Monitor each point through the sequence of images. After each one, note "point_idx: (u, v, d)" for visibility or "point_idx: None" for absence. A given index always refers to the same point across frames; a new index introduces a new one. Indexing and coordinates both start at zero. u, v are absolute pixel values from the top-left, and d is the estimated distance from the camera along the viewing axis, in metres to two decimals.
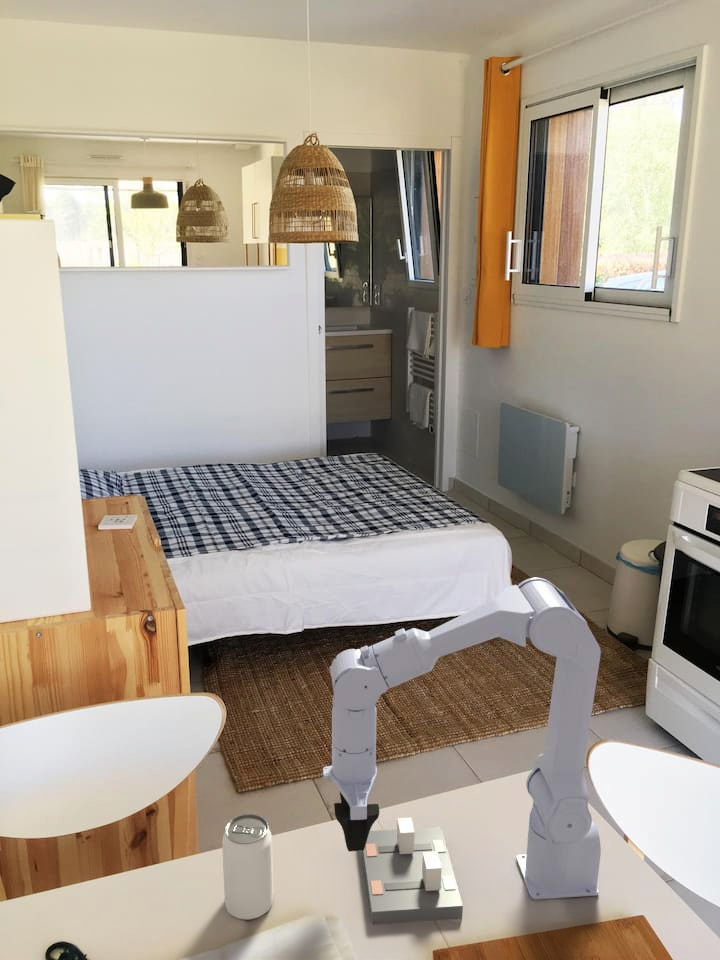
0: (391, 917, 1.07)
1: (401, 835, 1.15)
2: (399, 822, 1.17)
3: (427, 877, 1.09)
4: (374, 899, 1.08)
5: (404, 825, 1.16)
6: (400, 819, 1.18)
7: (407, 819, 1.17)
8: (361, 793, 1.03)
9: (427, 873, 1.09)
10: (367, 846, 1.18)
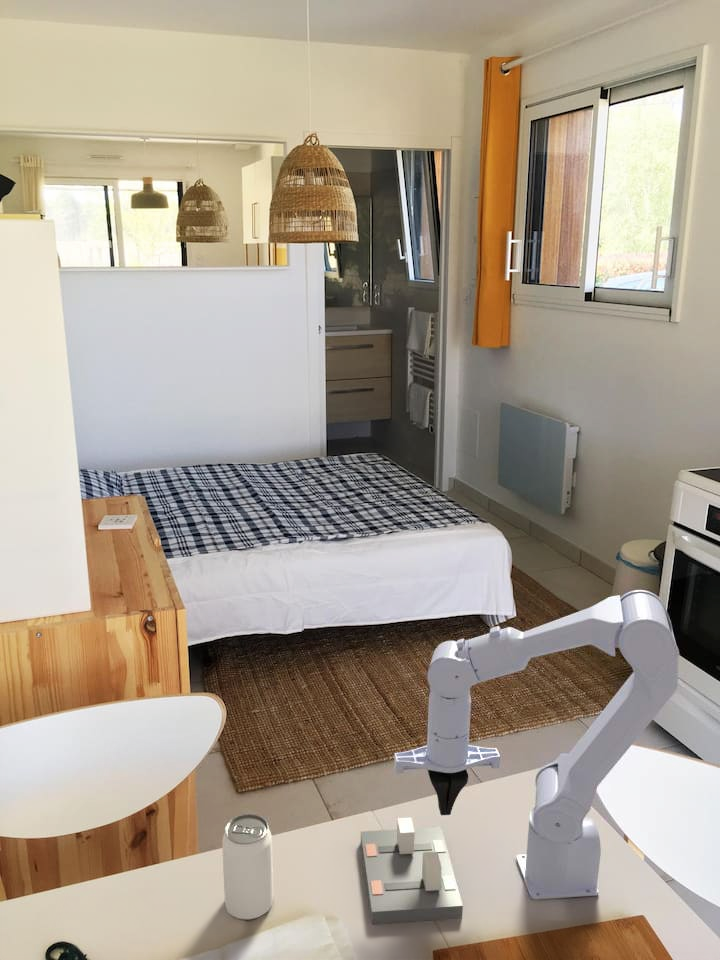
0: (391, 917, 1.07)
1: (401, 835, 1.15)
2: (399, 822, 1.17)
3: (427, 877, 1.09)
4: (374, 899, 1.08)
5: (404, 825, 1.16)
6: (400, 819, 1.18)
7: (407, 819, 1.17)
8: (414, 759, 1.13)
9: (427, 873, 1.09)
10: (367, 846, 1.18)
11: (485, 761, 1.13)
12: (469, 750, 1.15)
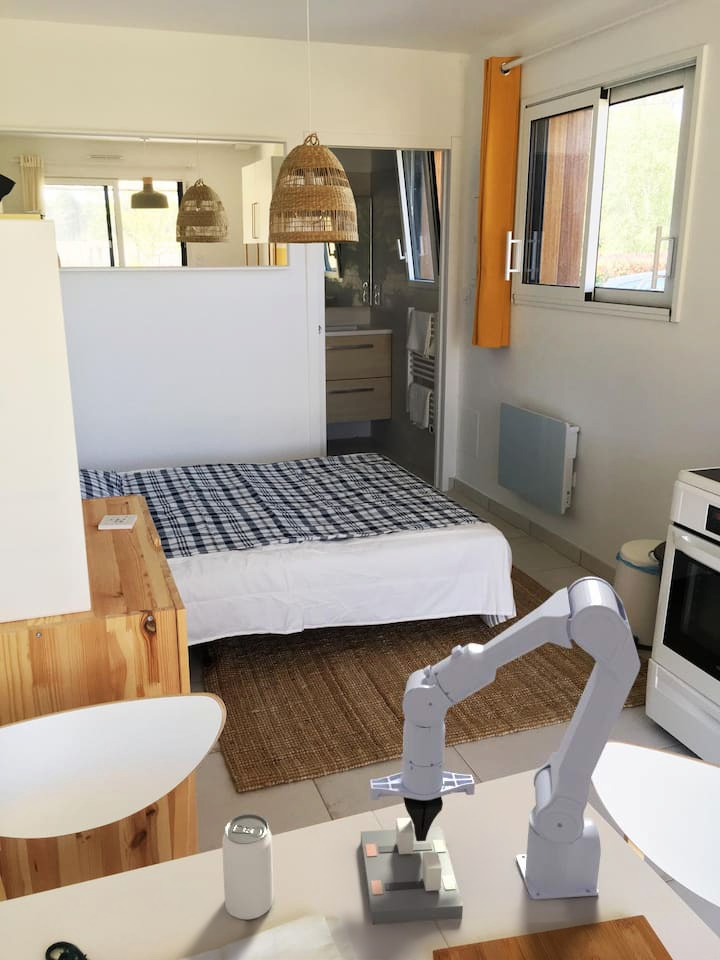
0: (391, 917, 1.07)
1: (400, 835, 1.15)
2: (398, 822, 1.17)
3: (427, 877, 1.09)
4: (374, 899, 1.08)
5: (403, 825, 1.16)
6: (399, 819, 1.17)
7: (407, 819, 1.17)
8: (389, 786, 1.14)
9: (427, 873, 1.09)
10: (367, 846, 1.18)
11: (460, 788, 1.14)
12: (444, 776, 1.16)
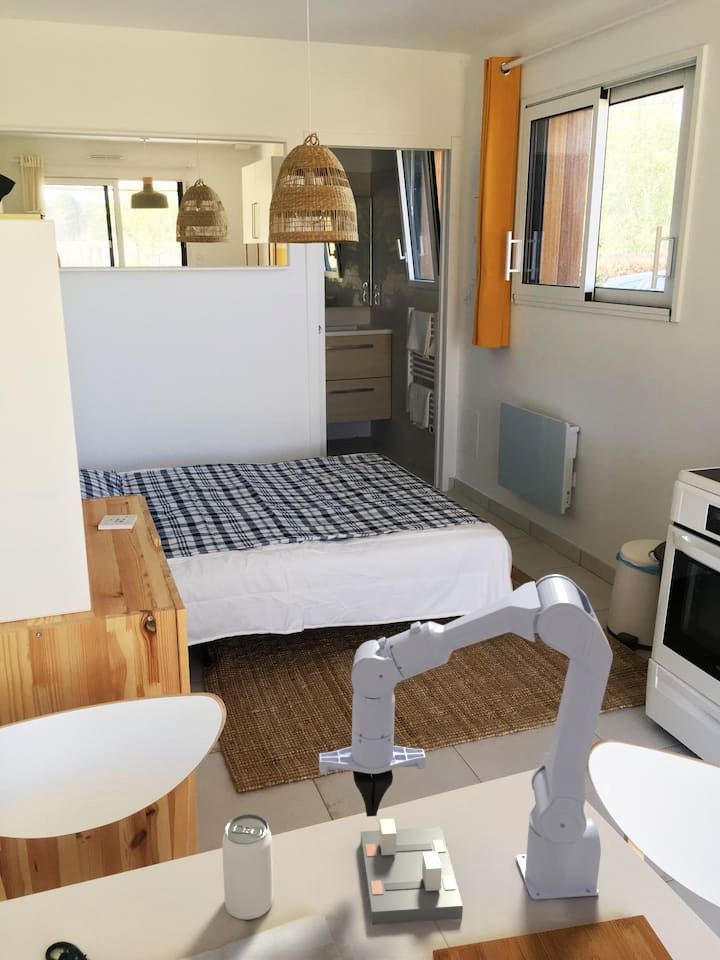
0: (391, 917, 1.07)
1: (383, 836, 1.15)
2: (381, 823, 1.17)
3: (427, 877, 1.09)
4: (374, 899, 1.08)
5: (386, 826, 1.16)
6: (382, 820, 1.17)
7: (390, 820, 1.17)
8: (338, 759, 1.12)
9: (427, 873, 1.09)
10: (367, 846, 1.18)
11: (410, 762, 1.12)
12: (396, 751, 1.14)
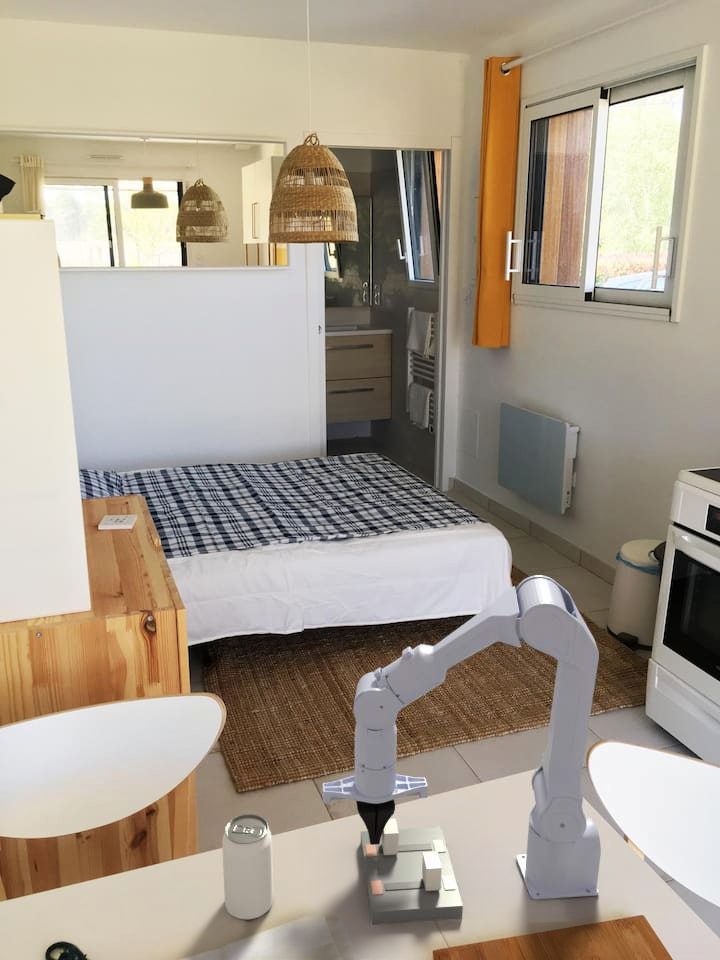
0: (391, 917, 1.07)
1: (385, 836, 1.15)
2: None
3: (427, 877, 1.09)
4: (374, 899, 1.08)
5: (388, 826, 1.16)
6: None
7: (392, 820, 1.17)
8: (341, 789, 1.13)
9: (427, 873, 1.09)
10: (367, 846, 1.18)
11: (412, 791, 1.13)
12: (398, 779, 1.16)
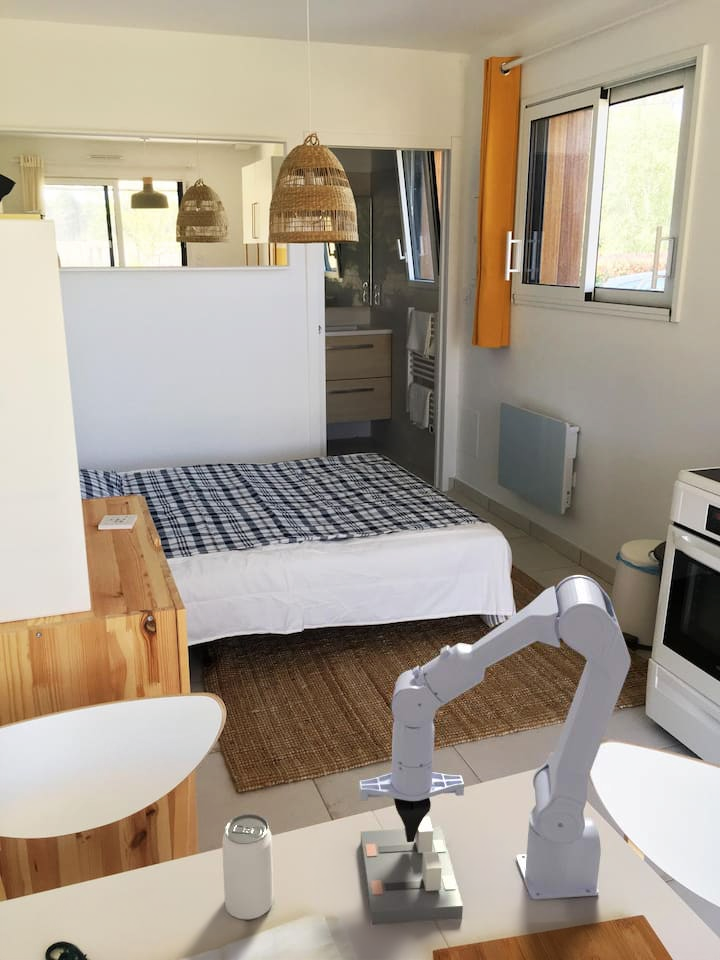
0: (391, 917, 1.07)
1: (420, 834, 1.15)
2: None
3: (427, 877, 1.09)
4: (374, 899, 1.08)
5: (422, 824, 1.17)
6: None
7: (425, 818, 1.18)
8: (378, 787, 1.13)
9: (427, 873, 1.09)
10: (367, 846, 1.18)
11: (449, 789, 1.14)
12: (434, 777, 1.16)
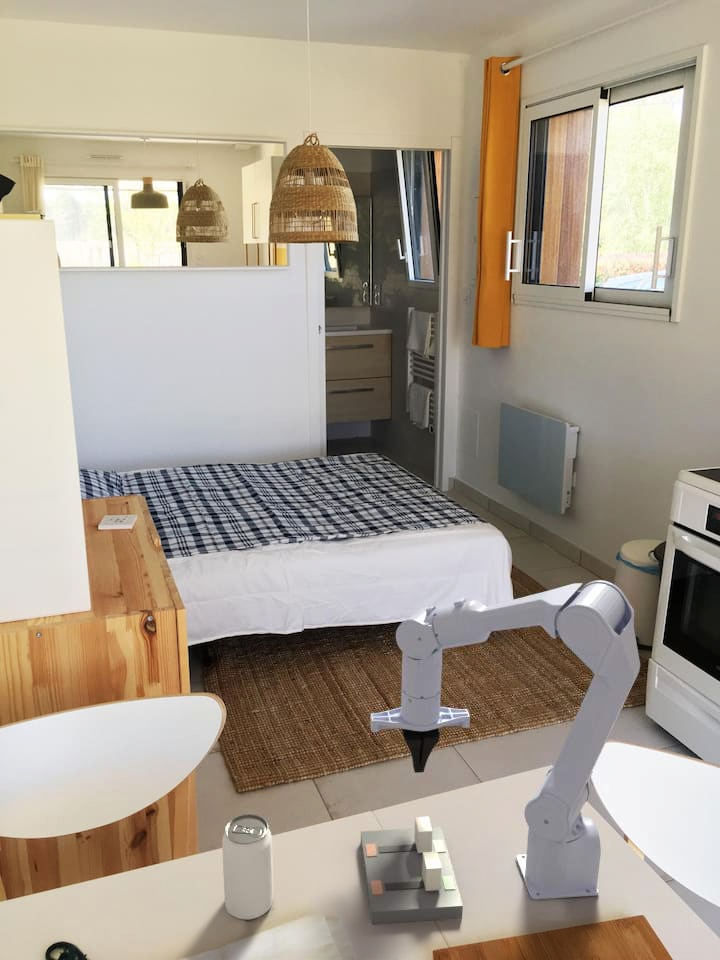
0: (391, 917, 1.07)
1: (419, 834, 1.15)
2: (417, 821, 1.17)
3: (427, 877, 1.09)
4: (374, 899, 1.08)
5: (422, 824, 1.17)
6: (418, 818, 1.18)
7: (425, 818, 1.18)
8: (389, 719, 1.20)
9: (427, 873, 1.09)
10: (367, 846, 1.18)
11: (456, 721, 1.20)
12: (441, 711, 1.22)
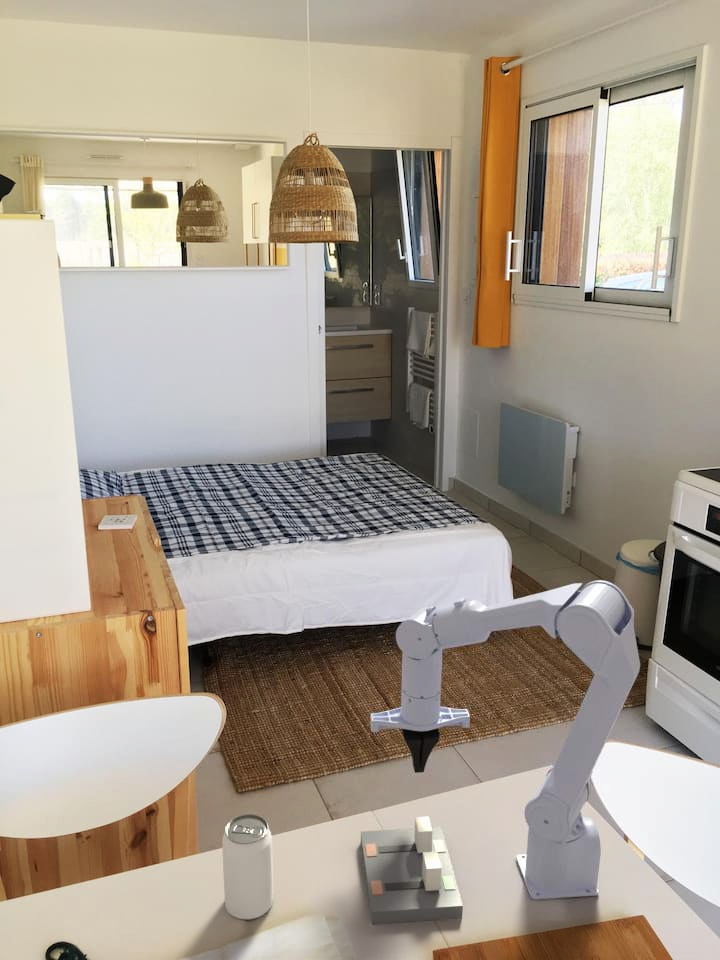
0: (391, 917, 1.07)
1: (419, 834, 1.15)
2: (417, 821, 1.17)
3: (427, 877, 1.09)
4: (374, 899, 1.08)
5: (422, 824, 1.17)
6: (418, 818, 1.18)
7: (425, 818, 1.18)
8: (389, 719, 1.20)
9: (427, 873, 1.09)
10: (367, 846, 1.18)
11: (456, 721, 1.20)
12: (441, 711, 1.22)
